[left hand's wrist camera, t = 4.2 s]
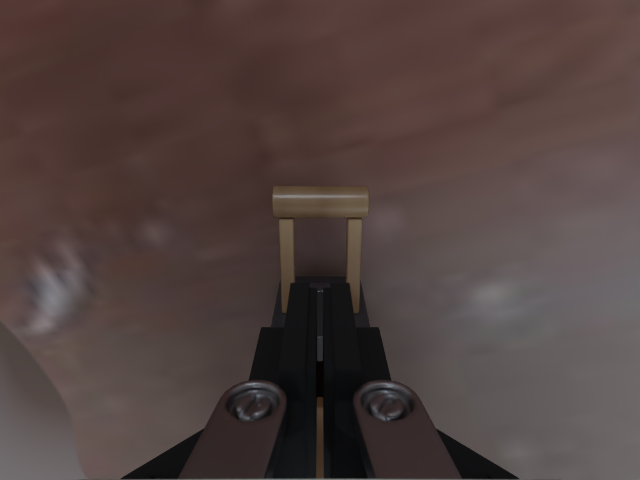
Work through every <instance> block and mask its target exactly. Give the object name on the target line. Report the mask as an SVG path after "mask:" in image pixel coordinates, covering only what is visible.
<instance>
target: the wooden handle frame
mask: <svg viewBox="0 0 640 480" xmlns="http://www.w3.org/2000/svg"><path fill="white" fill-rule="evenodd" d="M272 210H273V216H274V217H275V218H279V243H280V273H281V279H280V284H279V289H278V294H277V299H276V305H275V310H274V315H273V320H272V325H271V327H284V325H285V318H286V311H287V304H288V297H289V290H290V283H310V288H317V397H323V288H330V283H350V290H351V297H352V304H353V311H354V318H355V325H356V327H370V325H369V320H368V315H367V310H366V305H365V300H364V295H363V290H362V285H361V280H360V272H361V243H362V218H366V217H367V216H368V211H369V191H368V187H367V186H274V187H273V191H272ZM294 218H347V236H346V277H295V237H294Z"/></svg>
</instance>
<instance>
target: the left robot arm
mask: <svg viewBox="0 0 640 480" xmlns="http://www.w3.org/2000/svg"><path fill="white" fill-rule="evenodd" d="M316 450H317V288H310V283H290V290H289V297H288V304H287V311H286V318H285V325H284V327H262V328H261V331H260V335H259V339H258V343H257V348H256V352H255V356H254V360H253V365H252V369H251V373H250V377H249V381H245V382H241V383H239V384H237V385H234V386H232V387H231V388H230V389H228V390H227V391H226V392H225V393H224V394H223V396H222V397H221V398H220V400H219V402H218V404H217V406H216V408H215V409H214V411H213V413H212V415H211V417H210V419H209V421H208V423H207V424H206V426H205V428H204V429H202V430H201V431H199V432H197V433H196V434H194V435H192V436H191V437H189V438H187V439H186V440H184V441H182V442H181V443H179V444H177V445H176V446H174V447H172V448H171V449H169V450H167V451H166V452H164V453H162V454H161V455H159V456H157V457H156V458H154V459H152V460H151V461H149V462H147V463H146V464H144V465H142V466H141V467H139V468H137V469H136V470H134V471H132V472H131V473H129V474H127V475H126V476H124V477H123V478H121V479H82V480H559V479H519V478H517V477H516V476H514V475H513V474H511V473H509V472H508V471H506V470H504V469H503V468H501V467H499V466H498V465H496V464H494V463H493V462H491V461H489V460H488V459H486V458H484V457H483V456H481V455H479V454H478V453H476V452H474V451H473V450H471V449H469V448H468V447H466V446H464V445H463V444H461V443H459V442H458V441H456V440H454V439H453V438H451V437H449V436H448V435H446V434H444V433H443V432H441V431H439V430H438V429H436V428H435V426H434V424H433V423H432V421H431V419H430V417H429V415H428V413H427V411H426V409H425V408H424V406H423V404H422V402H421V400H420V398H419V397H418V396H417V394H416V393H415V392H414V391H413V390H412V389H410V388H409V387H408V386H406V385H403V384H401V383H399V382H395V381H391V377H390V373H389V369H388V365H387V360H386V356H385V352H384V348H383V343H382V339H381V335H380V331H379V328H378V327H356V325H355V318H354V311H353V304H352V297H351V290H350V283H330V288H323V450H324V479H316Z"/></svg>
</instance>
